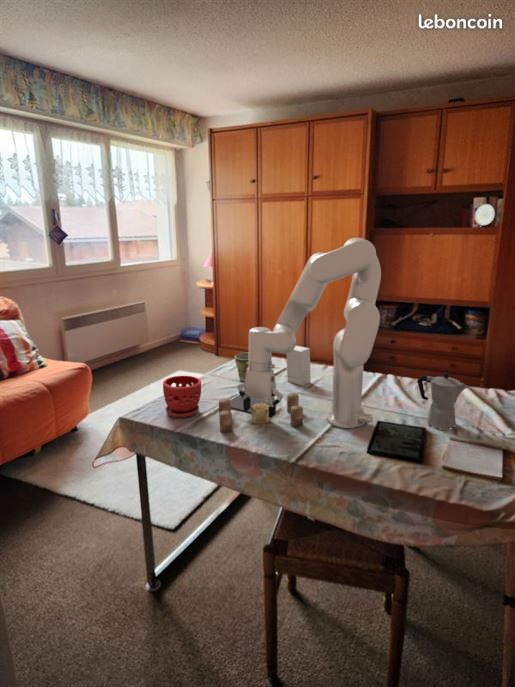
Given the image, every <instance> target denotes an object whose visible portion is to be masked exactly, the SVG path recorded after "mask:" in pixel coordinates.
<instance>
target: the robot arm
mask: <svg viewBox="0 0 515 687" xmlns="http://www.w3.org/2000/svg"><path fill="white" fill-rule="evenodd" d="M351 275H352V276H351ZM348 276H351V277H352V278H351V283H350V288H349V292H348V295H347V298H346V302H345V306H344V309H343V317H344V319H345V321H346V323H345V326H344V328H342V329H341V330H339V331H338V332H336V335H335V336H334V339H333V344H332V345H333V346H332V348H333V349H332V350H333V351H332V354H333V374H332V377H333V378H332V399H331V400H332V402H331V403H332V404H331V411H330V412H328V413H327V415H326V421H327V422H328V423H330V424H331V425H332V426H335V427H337V428H342V429H357V428H359V427H362V426H363V425H364V424H365V423H373V421H374V416H372V414H371V413H367V412H364V407H362V396H363V380H364V379H363V378H364V364H366V363H367V361H368V359H370V356H371V355H372V354H371V353H372V351H373V348H374V344H375V340H376V337H377V334H378V331H379V327H380V319H381V317H380V316H381V314H380V311H379V309H378V307H377V306H376V301H377V297H378V293H379V289H380V284H381V280H382V279H381V277H382V269H381V265H380V261H379V257H378V256H377V251H376V248H375V245H374V244H373V243H372V242H371V241H369V240H368V239H364V238H362V237H352V238H350V239H348V240H347V241H345V242H344V244H343V246H341V247H339V248H336V249H333V250H331V251H329V252H322V251H321V252H316V253H314V254H312V255H311V256H310V258H309V259H308V260H307V262H306V264H305V266H304V268H303V270H302V273H301V274H300V277H299V278H298V281H297V282H296V284H295V286H294V288H293V290H292V291H291V294H290V296H289V298H288V300H287V303H286V304H285V306H284V307H283V310H282V311H281V313H280V314H279V317H278V319H277V321H276V322H275V325H274V328H273V330H271V329H270V328H268V327H265V326H258V327H257V326H255V327H252V328H250V329H249V331H248V353H249V360H248V368H247V370H246V375H245V381H244V382H243V383H240V384H237V385H236V388H237V391H238V393H239V394H238V395H241V397H242V400H243V407H244V411H247V410H249V409H250V402H251V399H250V398H249V397H253V398H257V399H261V400H266V401H268V403H269V406H270V407H269V418H270V419H271V418H273V417H274V416H275V415H276V414H277V405H278V404H279V403H280V402H281V401H282V399H283V398H284V394H283V393H282V392H281V391H279V390H278V389H277V384H276V383H277V382H276V375H275V370H274V369H275V367H276V366H275V364H274V363H273V360H272V355H273V354H272V353H276V354H284V355H285V354H286V355H287V353H290V352H291V351H293V350H294V348H295V346H297V338H296V334H297V332H298V330H299V328H300V326H301V324H302V322H303V321H304V319H305V318H306V316H307V315H308V314H309V313H310V312H312V311H313V310H314V309H315V308H316V306H317V304H318V303H319V301H320V299H321V296H322V294H323V293H324V291H325V288H326V287H327V285H328V284H330V283H332V282H335V281H338V280H341V279H343V278H346V277H348ZM275 397H276V398H275ZM356 427H357V428H356Z"/></svg>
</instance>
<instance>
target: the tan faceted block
mask: <svg viewBox="0 0 515 687" xmlns="http://www.w3.org/2000/svg"><path fill="white" fill-rule="evenodd" d="M269 407H270V405H267V404H255V405H253V406H252V407H251V413H250V414H251V416H250V417H251V421H252V422H253V423H254V424H256V425H266V424H267V423H269V422H270V421H271V418H269Z"/></svg>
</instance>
